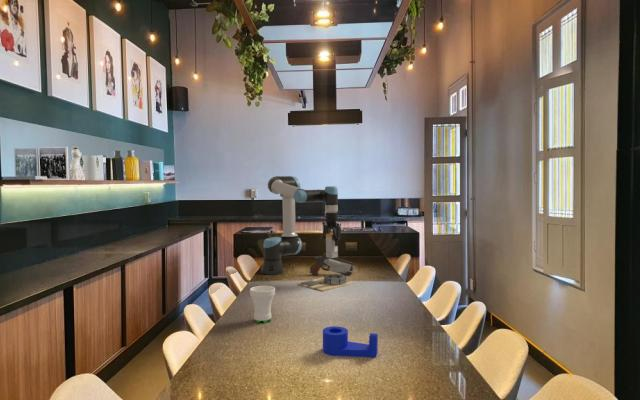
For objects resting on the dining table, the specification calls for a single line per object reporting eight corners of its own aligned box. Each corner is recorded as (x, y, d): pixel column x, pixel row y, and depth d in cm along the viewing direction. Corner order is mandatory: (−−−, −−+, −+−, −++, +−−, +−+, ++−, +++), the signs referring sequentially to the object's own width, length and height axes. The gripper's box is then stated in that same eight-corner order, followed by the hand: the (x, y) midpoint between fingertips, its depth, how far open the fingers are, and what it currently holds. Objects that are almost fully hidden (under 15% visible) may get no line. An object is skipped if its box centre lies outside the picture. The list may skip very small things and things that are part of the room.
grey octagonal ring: (319, 282, 256) (319, 276, 256) (334, 278, 266) (334, 273, 265) (335, 286, 247) (335, 280, 247) (350, 282, 256) (350, 276, 256)
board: (296, 284, 254) (296, 283, 254) (327, 277, 272) (327, 276, 272) (323, 291, 238) (323, 290, 238) (353, 283, 256) (353, 282, 256)
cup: (254, 326, 181) (254, 293, 181) (246, 318, 191) (246, 287, 190) (279, 322, 186) (279, 289, 186) (270, 315, 196) (270, 284, 196)
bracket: (320, 355, 152) (320, 333, 151) (325, 345, 160) (325, 325, 160) (375, 360, 147) (375, 338, 147) (378, 350, 156) (378, 329, 156)
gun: (348, 285, 278) (355, 263, 277) (308, 273, 278) (314, 251, 277) (348, 283, 283) (355, 261, 282) (308, 271, 283) (315, 250, 282)
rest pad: (300, 283, 254) (300, 282, 254) (311, 280, 260) (311, 280, 260) (310, 286, 247) (310, 285, 247) (321, 283, 254) (321, 282, 254)
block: (326, 257, 256) (325, 233, 256) (331, 256, 260) (331, 233, 259) (332, 258, 253) (331, 234, 252) (337, 257, 256) (337, 233, 256)
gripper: (316, 211, 259) (317, 250, 260) (338, 212, 246) (338, 253, 247) (325, 211, 265) (325, 248, 265) (347, 212, 252) (347, 251, 252)
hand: (332, 250), depth 256 cm, fingers closed on block, 5 cm apart
